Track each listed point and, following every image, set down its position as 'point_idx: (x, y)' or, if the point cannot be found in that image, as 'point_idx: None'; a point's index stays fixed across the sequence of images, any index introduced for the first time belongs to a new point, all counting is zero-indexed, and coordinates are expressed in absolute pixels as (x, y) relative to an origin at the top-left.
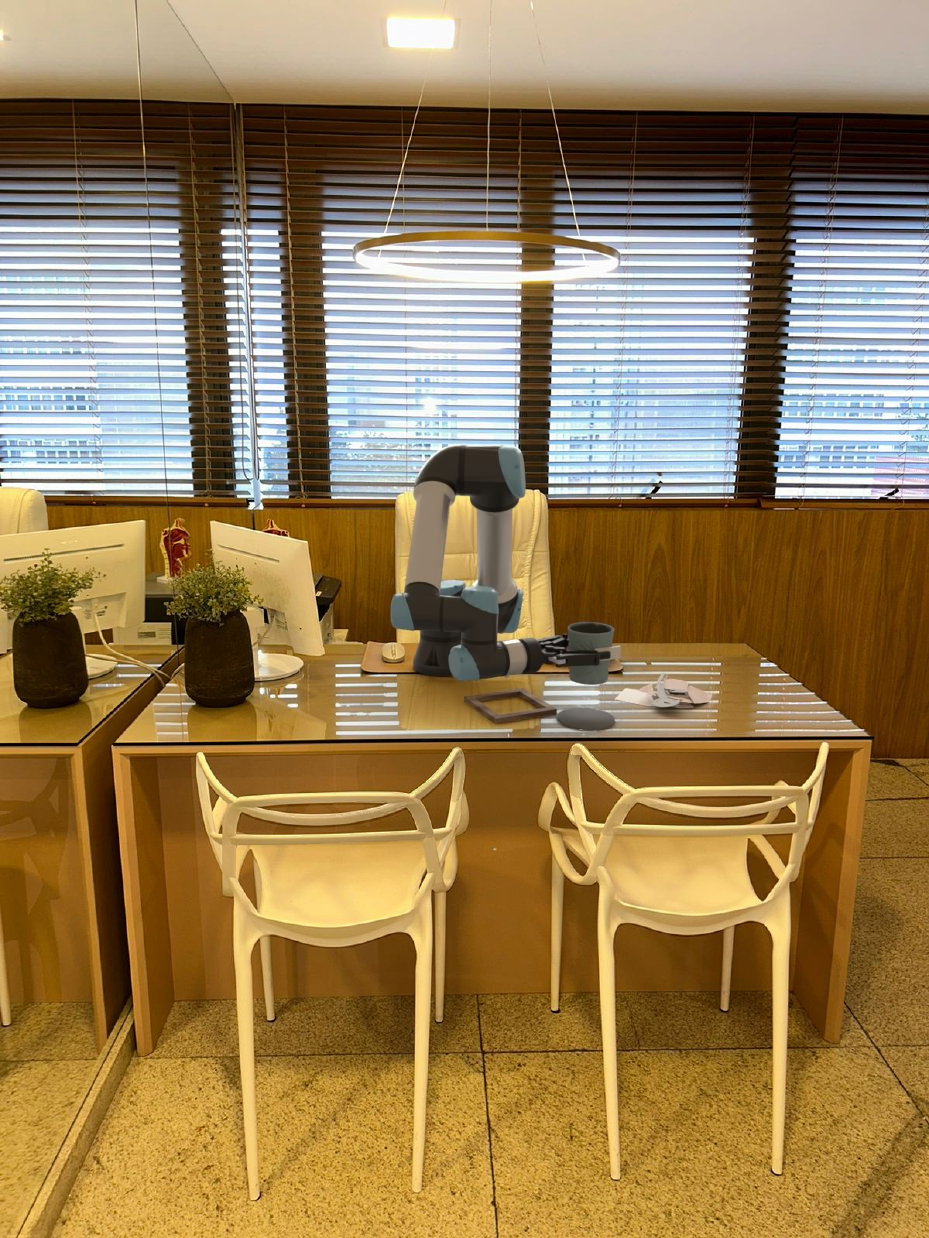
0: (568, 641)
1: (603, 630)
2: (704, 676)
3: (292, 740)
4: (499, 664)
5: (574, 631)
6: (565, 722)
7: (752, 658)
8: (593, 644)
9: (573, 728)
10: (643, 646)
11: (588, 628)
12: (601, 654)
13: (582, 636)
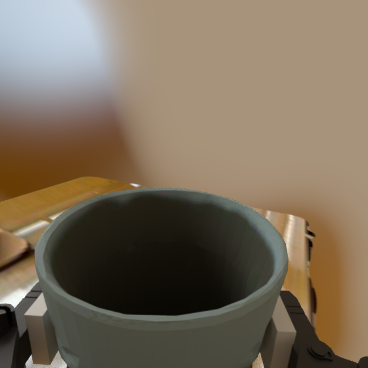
0: (27, 334)
1: (152, 211)
2: None
3: None
4: None
5: (187, 321)
6: None
7: (119, 182)
8: (272, 314)
9: None
10: (14, 201)
11: (97, 225)
12: (315, 337)
13: (251, 321)
